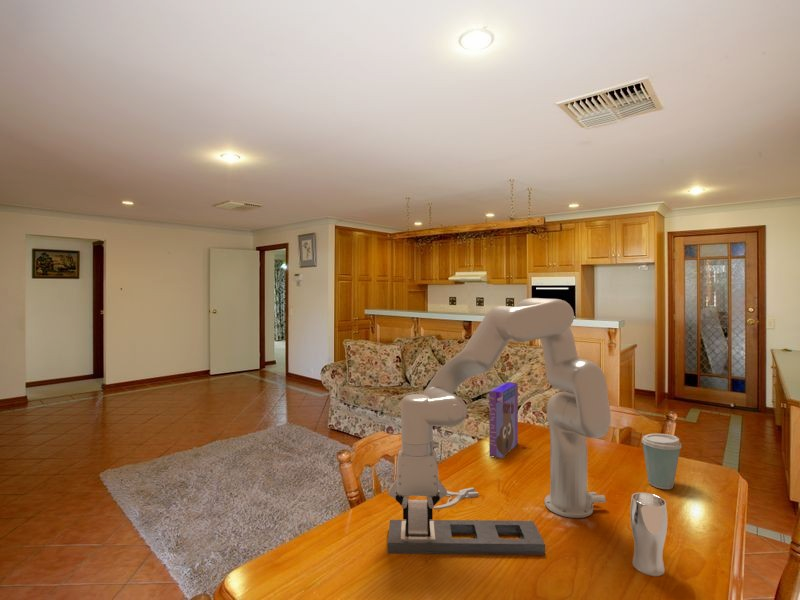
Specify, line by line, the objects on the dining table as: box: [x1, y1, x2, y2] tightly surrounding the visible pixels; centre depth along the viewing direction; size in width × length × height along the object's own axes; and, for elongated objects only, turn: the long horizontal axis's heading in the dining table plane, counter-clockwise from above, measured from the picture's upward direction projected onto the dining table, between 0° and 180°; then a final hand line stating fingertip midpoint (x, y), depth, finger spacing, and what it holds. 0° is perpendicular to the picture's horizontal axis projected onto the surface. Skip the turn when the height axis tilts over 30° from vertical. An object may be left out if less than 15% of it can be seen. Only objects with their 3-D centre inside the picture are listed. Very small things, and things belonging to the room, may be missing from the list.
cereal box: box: [488, 381, 519, 459], centre depth 163 cm, size 17×5×24 cm, turn 147°
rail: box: [387, 519, 546, 556], centre depth 105 cm, size 36×10×3 cm, turn 88°
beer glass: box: [629, 491, 668, 577], centre depth 94 cm, size 7×7×15 cm
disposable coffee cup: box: [641, 433, 682, 490], centre depth 134 cm, size 11×11×15 cm
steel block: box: [407, 499, 429, 537], centre depth 105 cm, size 4×4×8 cm
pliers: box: [432, 487, 479, 510], centre depth 127 cm, size 10×2×15 cm
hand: (417, 521), depth 105 cm, fingers closed on steel block, 4 cm apart
